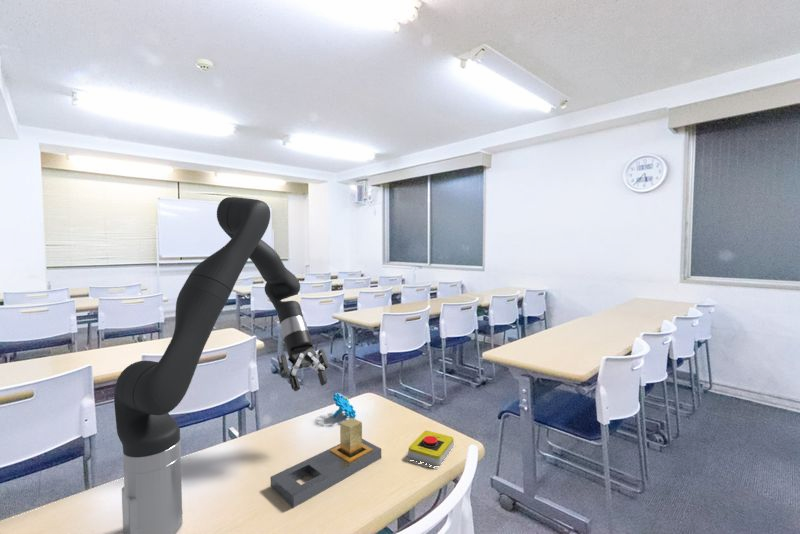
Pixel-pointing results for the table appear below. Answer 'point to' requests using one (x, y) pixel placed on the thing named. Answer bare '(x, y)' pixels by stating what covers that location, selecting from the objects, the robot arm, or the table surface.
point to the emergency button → (430, 449)
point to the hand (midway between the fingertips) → (311, 387)
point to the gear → (343, 406)
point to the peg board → (321, 472)
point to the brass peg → (351, 437)
